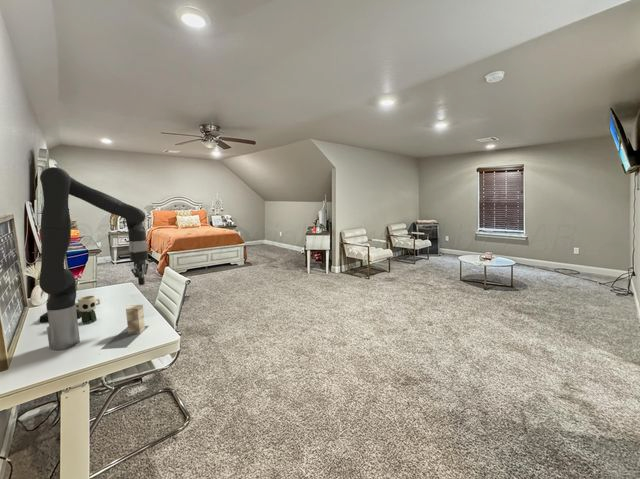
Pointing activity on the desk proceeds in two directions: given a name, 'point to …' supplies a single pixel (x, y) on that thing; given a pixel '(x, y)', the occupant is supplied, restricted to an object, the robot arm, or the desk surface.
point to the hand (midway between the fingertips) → (141, 284)
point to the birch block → (135, 319)
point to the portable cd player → (45, 316)
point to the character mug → (87, 308)
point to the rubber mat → (122, 340)
